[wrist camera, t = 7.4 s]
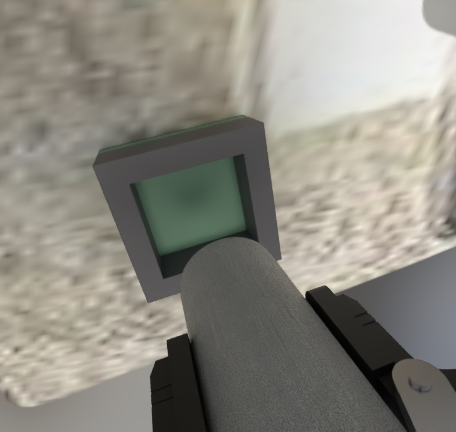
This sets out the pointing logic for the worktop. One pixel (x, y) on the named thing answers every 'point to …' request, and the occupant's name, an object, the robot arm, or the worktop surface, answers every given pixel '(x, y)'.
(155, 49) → the worktop surface
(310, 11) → the worktop surface
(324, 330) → the dark grey cylinder
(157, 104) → the worktop surface
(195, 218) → the socket board
